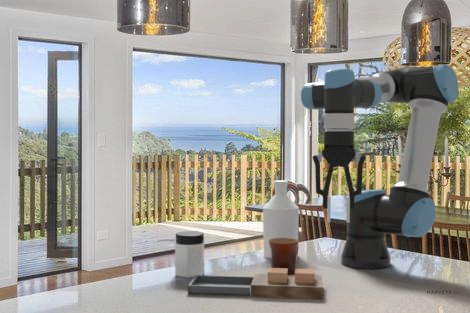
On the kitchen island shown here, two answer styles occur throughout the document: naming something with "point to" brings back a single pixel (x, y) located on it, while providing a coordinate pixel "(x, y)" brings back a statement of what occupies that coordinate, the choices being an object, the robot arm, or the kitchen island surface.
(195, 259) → the jar
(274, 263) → the mug
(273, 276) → the tile
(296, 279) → the tile
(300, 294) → the board
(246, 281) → the tray
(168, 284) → the kitchen island surface
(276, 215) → the bottle
